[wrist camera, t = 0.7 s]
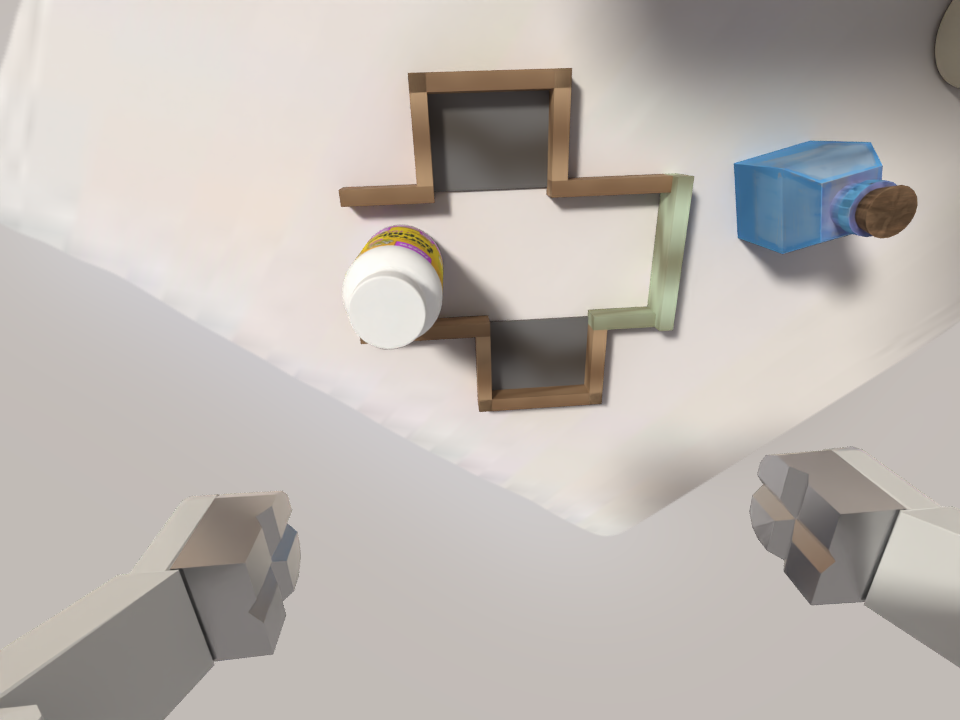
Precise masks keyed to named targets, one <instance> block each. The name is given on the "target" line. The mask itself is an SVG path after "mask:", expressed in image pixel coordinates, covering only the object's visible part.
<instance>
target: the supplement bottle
mask: <svg viewBox="0 0 960 720" xmlns="http://www.w3.org/2000/svg"><path fill="white" fill-rule="evenodd" d="M342 296H343V303H344V307H345V310H346V312H347V314H348V316H349V320H350V323H351V326H352V328H353V329H354V331H355V332H356V334H357V335H358V336H359V337H360V338H361V339H362V340H364V341H365V342H366V343H368V344H370V345H372V346H374V347H378V348H382V349H396V348H400V347H404V346H406V345H408V344H410V343H411V342H413V341H414V340H415V339H416V338H418V337H420V336H421V335H423V334H424V333H425V332H427V331H428V330H429V329H430V328H431V327H432V325H433V324H434V323H435V321H436V320H437V318H438V316H439V313H440V310H441V306H442V298H443V261H442V256H441V253H440V250H439V248H438V246H437V245H436V243H435V242H434V240H433V239H432V238H431V237H430V236H429V235H428V234H426V233H425V232H424V231H422V230H420V229H418V228H415V227H413V226H408V225H393V226H389V227H386V228H384V229H382V230H380V231H379V232H377V233H376V234H375V235H374V236H373V237H372V238H371V239H370V240H369V241H368V243H367V244H366V245H365V247H364V248H363V250H362V251H361V252H360V254H359V255H358V257H357V258H356V259H355V261H354V262H353V263H352V265H351V266H350V268H349V269H348V271H347V273H346V276H345V279H344V282H343V290H342Z"/></svg>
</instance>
